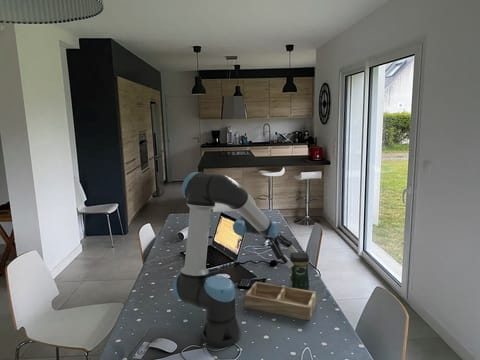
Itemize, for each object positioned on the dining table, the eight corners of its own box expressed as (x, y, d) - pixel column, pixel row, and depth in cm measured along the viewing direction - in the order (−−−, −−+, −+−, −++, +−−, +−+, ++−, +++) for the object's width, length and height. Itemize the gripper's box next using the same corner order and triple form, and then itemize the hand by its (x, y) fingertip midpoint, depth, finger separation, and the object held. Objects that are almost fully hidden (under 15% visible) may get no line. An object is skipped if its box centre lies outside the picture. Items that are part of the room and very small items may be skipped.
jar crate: (309, 320, 152) (309, 307, 151) (245, 307, 163) (244, 295, 162) (316, 303, 165) (316, 291, 164) (255, 292, 176) (255, 281, 175)
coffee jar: (307, 283, 185) (308, 249, 181) (310, 291, 177) (310, 255, 174) (288, 283, 185) (288, 249, 182) (290, 291, 177) (290, 256, 174)
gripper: (268, 226, 196) (295, 256, 193) (253, 242, 173) (283, 276, 171) (278, 218, 193) (305, 248, 190) (263, 233, 170) (294, 267, 168)
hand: (295, 261), depth 181 cm, fingers open, 13 cm apart
